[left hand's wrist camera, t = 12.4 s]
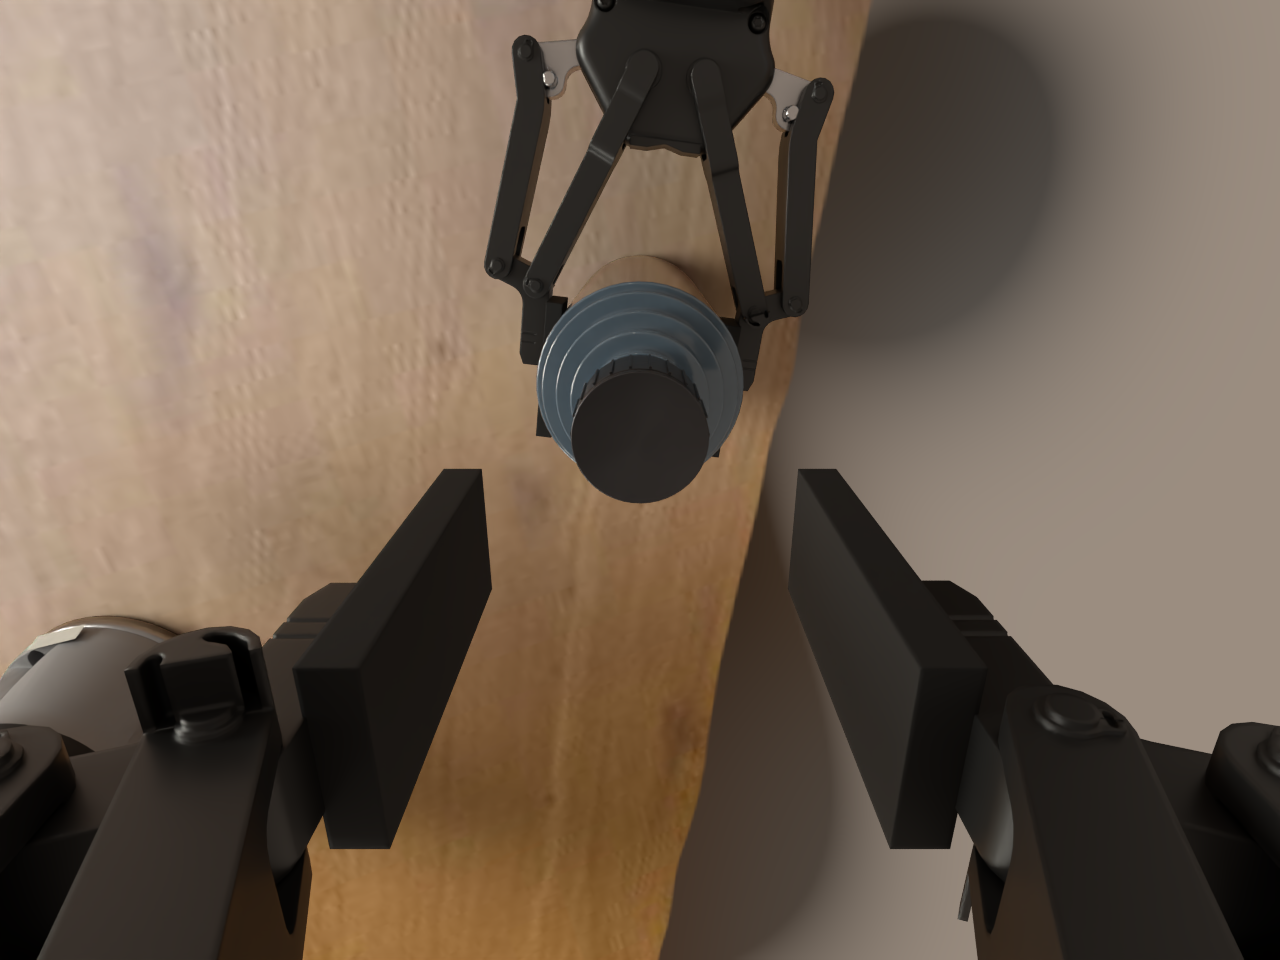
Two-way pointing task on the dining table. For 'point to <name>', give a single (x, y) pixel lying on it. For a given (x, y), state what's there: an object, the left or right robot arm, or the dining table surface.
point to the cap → (640, 429)
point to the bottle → (639, 342)
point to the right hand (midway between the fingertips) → (628, 437)
